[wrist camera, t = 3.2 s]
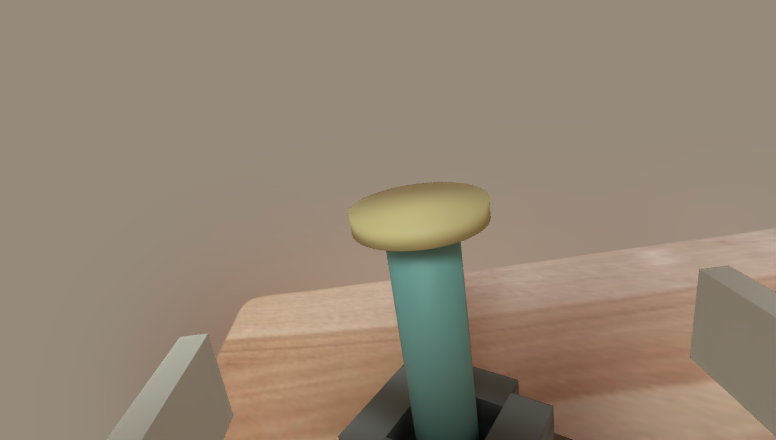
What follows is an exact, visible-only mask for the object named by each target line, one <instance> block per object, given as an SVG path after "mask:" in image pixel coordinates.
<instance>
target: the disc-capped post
mask: <svg viewBox="0 0 776 440" xmlns="http://www.w3.org/2000/svg"><path fill="white" fill-rule="evenodd" d="M348 214H349V220H350V226H351V231H352V236H353V238H354V239H355V240H356V241H357V242H358V243H360V244H361V245H364V246H366V247H369V248H373V249H378V250H386V252H387V259H388V265H389V271H390V278H391V284H392V290H393V297H394V303H395V309H396V316H397V322H398V328H399V335H400V341H401V347H402V354H403V360H404V366H405V373H406V379H407V385H408V392H409V398H410V404H411V411H412V417H413V423H414V430H415V436H416V440H480V439H479V429H478V419H477V408H476V398H475V387H474V377H473V367H472V356H471V346H470V335H469V325H468V315H467V304H466V294H465V283H464V273H463V263H462V253H461V241H463V240H466V239H468V238H470V237H472V236H474V235H476V234H478V233H479V232H481V231H482V230H483V229H485V228H486V226H488V224H489V222H490V218H491V216H490V202H489V195H488V193H487V192H486V191H485V190H483V189H481V188H479V187H477V186H473V185H469V184H464V183H453V182H434V183H421V184H413V185H407V186H401V187H396V188H392V189H388V190H385V191H381V192H378V193H375V194H373V195H370V196H368V197H366V198H364V199H362V200H360V201H359V202H357V203H356V204H354V205H353V206H352V207H351V208H350V210H349V213H348Z"/></svg>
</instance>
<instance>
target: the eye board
mask: <svg viewBox="0 0 776 440" xmlns="http://www.w3.org/2000/svg"><path fill="white" fill-rule="evenodd" d="M473 377H474V387H475V398H476V408H477V419H478V429H479V439H480V440H572V439H569V438H567V437H564V436H561V435H558V434H555V433H554V417H553V406H552V405H548V404H545V403H542V402H539V401H536V400H532V399H529V398H526V397H523V396H520V395H519V388H518V380H517V379H513V378H510V377H506V376H503V375H500V374H496V373H493V372H489V371H486V370H483V369H479V368H476V367H473ZM338 438H339V440H416V436H415V430H414V423H413V417H412V411H411V404H410V398H409V392H408V385H407V379H406V373H405V366H404V364H403V365H402V367H401V368H400V369H399V370H398V371H397V372H396V373H395V374H394V375H393V377H392V378H391V379H390V380H389V381H388V382H387V383H386V384H385V385H384V386H383V388H382V389H381V390H380V391H379V392H378V393H377V394H376V395H375V396H374V398H373V399H372V400H371V401H370V402H369V403H368V404H367V405H366V406H365V407H364V409H363V410H362V411H361V412H360V413H359V414H358V415H357V416H356V417H355V419H354V420H353V421H352V422H351V423H350V424H349V425H348V426H347V427H346V429H345V430H344V431H343V432H342V433H341V434H340V435H339V436H338Z"/></svg>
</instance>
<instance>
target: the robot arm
mask: <svg viewBox="0 0 776 440" xmlns="http://www.w3.org/2000/svg"><path fill="white" fill-rule="evenodd" d="M690 358H691V359H693V360H694V361H695V362H696V363H697V364H698V365H699V366H700V367H701V368H702V369H703V370H704V371H706V372H707V373H708V374H709V375H710V376H711V377H712V378H713V379H714V380H715V381H716V382H717V383H719V384H720V385H721V386H722V387H723V388H724V389H725V390H726V391H727V392H728V393H729V394H730V395H731V396H733V397H734V398H735V399H736V400H737V401H738V402H739V403H740V404H741V405H742V406H743V407H744V408H746V409H747V410H748V411H749V412H750V413H751V414H752V415H753V416H754V417H755V418H756V419H757V420H759V421H760V422H761V423H762V424H763V425H764V426H765V427H766V428H767V429H768V430H769V431H770V432H772V433H773V434H774V435H775V436H776V292H775V291H773V290H771V289H769V288H767V287H766V286H764V285H762V284H760V283H759V282H757V281H755V280H753V279H751V278H750V277H748V276H746V275H744V274H743V273H741V272H739V271H737V270H736V269H734V268H732V267H730V266H722V267H714V268H706V269H699V277H698V286H697V295H696V305H695V314H694V323H693V332H692V341H691V350H690ZM232 417H233V412H232V409H231V406H230V402H229V399H228V396H227V393H226V390H225V386H224V383H223V380H222V377H221V373H220V370H219V367H218V364H217V360H216V357H215V354H214V351H213V348H212V344H211V341H210V338H209V335H208V333H207V334H201V335H192V336H184V337H180V338H179V339H178V341H177V342H176V343H175V345H174V346H173V348H172V349H171V351H170V352H169V353H168V355H167V356H166V357H165V359H164V360H163V361H162V363H161V364H160V366H159V367H158V368H157V370H156V371H155V373H154V374H153V375H152V377H151V378H150V380H149V381H148V382H147V384H146V385H145V387H144V388H143V389H142V391H141V392H140V394H139V395H138V396H137V398H136V399H135V400H134V402H133V403H132V404H131V406H130V407H129V409H128V410H127V411H126V413H125V414H124V416H123V417H122V418H121V420H120V421H119V423H118V424H117V425H116V427H115V428H114V430H113V431H112V432H111V434H110V435H109V436H108V438H107V439H106V440H223V439H224V437H225V434H226V432H227V429H228V427H229V424H230V422H231V419H232Z"/></svg>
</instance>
